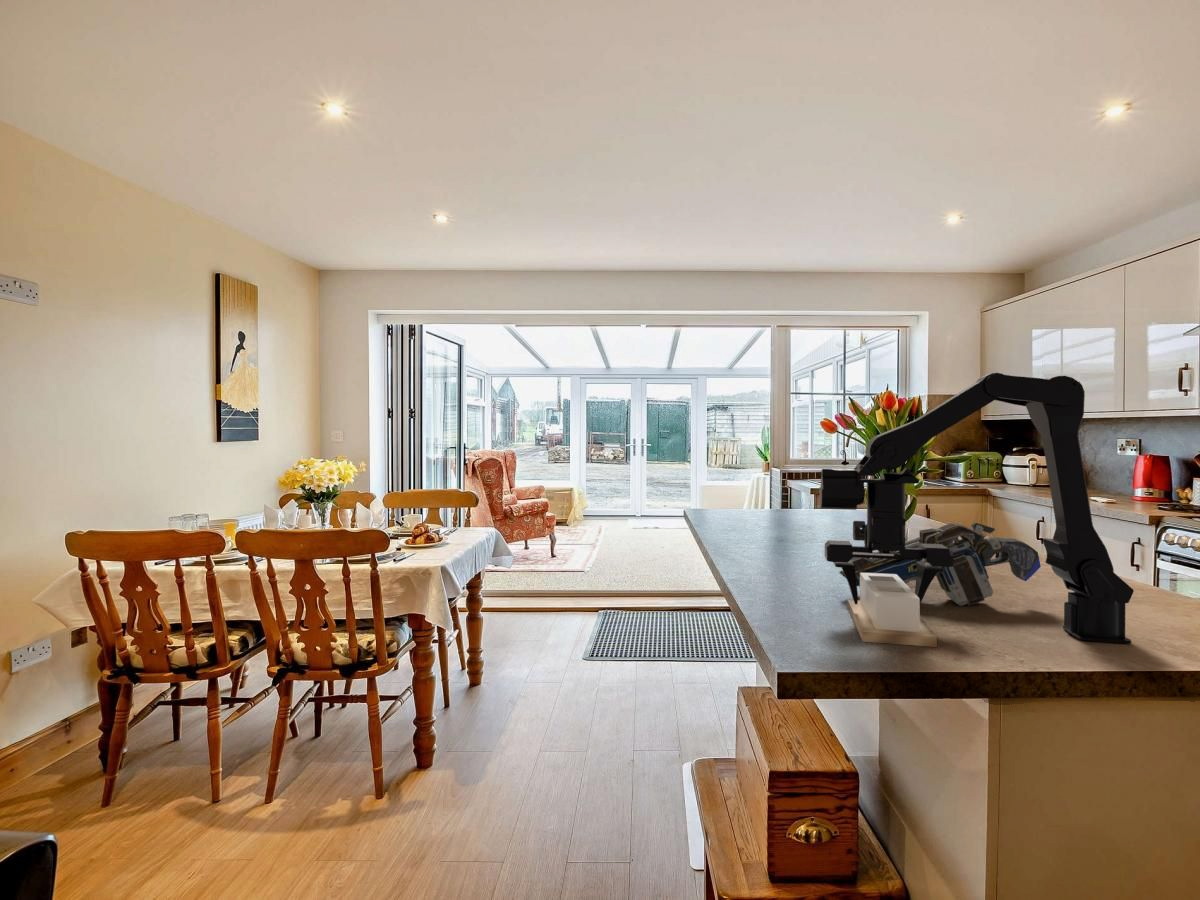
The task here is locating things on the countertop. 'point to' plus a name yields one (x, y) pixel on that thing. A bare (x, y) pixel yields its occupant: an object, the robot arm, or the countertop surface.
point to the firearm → (960, 561)
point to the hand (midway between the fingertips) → (885, 605)
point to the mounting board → (888, 636)
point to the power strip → (889, 602)
